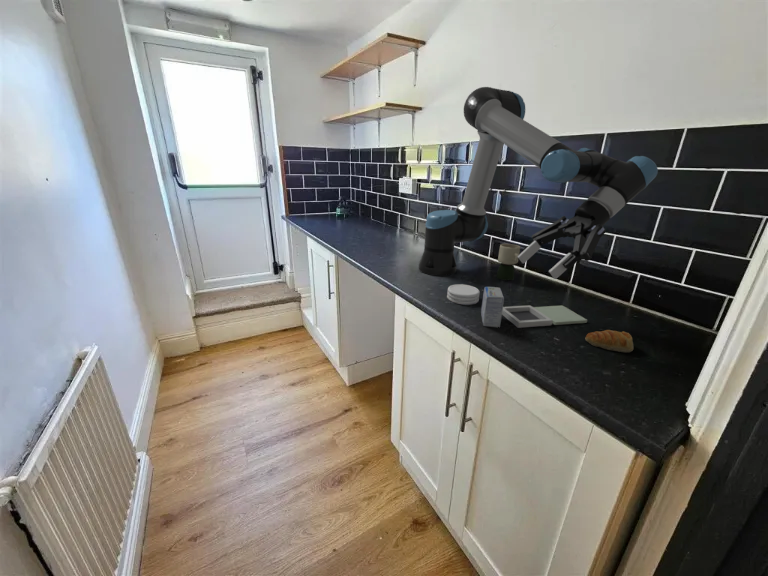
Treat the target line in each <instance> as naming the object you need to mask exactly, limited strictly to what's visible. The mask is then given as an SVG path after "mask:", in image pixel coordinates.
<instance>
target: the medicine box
mask: <svg viewBox="0 0 768 576" xmlns="http://www.w3.org/2000/svg"><path fill="white" fill-rule="evenodd" d="M482 294H483V295H482V302H481V310H480V314H481V320H482V326H484V327H490V328H498V327H499V328H500V327H501V322H502V316H503V315H502V310H503V307H504V302H505V296H504V295H503V292H502V288H501V287H497V286H496V287H495V286H484V289H483V293H482Z"/></svg>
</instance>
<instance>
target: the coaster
mask: <svg viewBox="0 0 768 576" xmlns="http://www.w3.org/2000/svg"><path fill="white" fill-rule="evenodd" d="M446 293H447V295H446V299H448V301H450V302H452V303H454V304H458V305H463V306H469V305H471V306H472V305H476V304H477V303H479V300H480V294H481V292H480V290H479V289H478V288H477V287H475V286H473V285H469V284H462V283H460V284H451V285H449V286H448V287H447V292H446Z"/></svg>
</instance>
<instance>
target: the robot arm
mask: <svg viewBox="0 0 768 576" xmlns="http://www.w3.org/2000/svg"><path fill="white" fill-rule="evenodd" d="M463 116H464V117H463V118H464V119H465V121H466V122H467V124H468V125H470V126H471V127H472V128H473V129H475V130H477V134H478V136H479V139H478V140H479V141H478V144H477V147H476V152H475V155H474V159H473V162H472V166H471V170H470V173H469V176H468V180H467V185H466V187H465V192H464V194H463V198H462V201H461V203H459V204H458V205H456V210H452V209H442V210H441V209H438V210H433V211H432V212H429V213H428V214H427V216H426V221H425V225H424V226H425V234H424V249H423V252H422V255H421V258H420V260H419V262H418V271H419V272H420V273H424V274H427V275H431V276H442V277H443V276H451V275H455V274H456V273H457V262H456V257H455V253H454V252H455V251H454V250H455V244H459V243H466V242H468V243H469V242H474V241H477V240H479V239H482V238H483V237H484V235H485V234H486V232H487V231H488V226H489V222H488V218H487V215H486V214H487V211H486V209H485V205H486V201H487V199H488V195H489V192H490V189H491V187H492V186H491V185H492V183H493V179H494V176H495V173H496V170H497V166H498V163H499V160H500V156H501V154H502V150H503V148H504V145H505V146H506V147H508V148H509V149H511V150H513V151H514V153H516V154H518V155H520V156H521V157H522V158H524V159H526V160H527V161H528V162H529V163H531V164H533V166H535V167H536V168H539V169H540V173H541V174H542V176H543V177H544V179H545V180H547V181H548V182H551V183H552V182H553V183H557V184H558V183H559V184H562V183H589V184H591V185H593V186H596V187H598V189H597V190H595V191H594V192H593V193H592V194H591V195H590V196H589V197H588V198H587V200H585V201H584V202H583V203H581V204H580V205H579V206H578V207H577V208H576V209H575V212H574V215H573V217H571V218H569V219H568V218H567V217H566V215H563V216H560V218H559V219H557V220H556V221H555V222H552V223H551V224H549V225H548V226H546V227H544V228H542V229H541V230H538V231H537V232H535V233H534V234H532V235H531V239H532V240H533V241H532V242H530V244H529V245H528V246H527V247H525V249H524V250H523V251H521V252H520V254H519V256H518V261H520V262H521V264H525V263H526V262H527V261H528V260H529V259H531V258H532V257H533V256H534V255H535V254H536V253H537V252H538V251H539V250H540V249H541V248H542V246H543V245H546V244H548V243H550V242H553V241H555V240H558V239H561V238H573V239H574V244H573V250H571V252H568V253H567V254H566V255H565V256H563V258H561V259H560V260H559V261H558V262H557V263H556V264H555V265H554V266H552V268H550V269H549V270H548V273H549V274H550V276H551V277H552V278H553V279H554V280H557V279H558V278H559V277H560V276H562V274H564V273H565V272H566V271H567V270H569V269H571V268H572V267H573V266H574V265H576V263H578V262H580V261H585V262H589V261H590V260H591V258H592V256H593V254H594V252H595V250H596V248H597V246H598V244H599V242H600V239H601V238H602V237H603V235H604V234H605V233H606V229H605V228H604V225H606V223H607V222H609V221H610V220H611V219H612V218H613V217H614V216H615V215H616V214H617V213H619V212H620V211H621V210H622V208H624V207H625V206H626V205H627V204H628V203H629V202H630V201H632V200H633V199H634V198H635V197H637V196H638V194H640V193H641V192H642V191H643V190H645V189H646V188H647V187H648V185H650V184H651V182H652V181H653V180H654V179H655V178H657V175H658V173H659V170H658V166H657V164H656V162H654V161H653V160H652V159H651V158H649V157H647V156H644V155H640V156H639V155H635V156H632V157H631V158H630V159H628V160H627V161H623V160H620V159H618V158H617V159H616V158H613V157H611V156H609V155H606V154H604V153H601V152H599V151H597V150H596V149H591V148H587V147H582V148H579V150H575V149H572V148H570V147H569V146H567V145H566V144H564V143H562V142H561V141H559V140H557V139H556V138H555V137H553V136H551V135H550V134H549V133H546V132H544V131H543V130H541V129H539V128H538V127H536V126H534V125H532V124H531V123H529V121H528V122H527V121H526V120H525V116H526V104H525V101H524V98H523V97H522V96H521V95H520V94H519V93H517V92H514V91H511V90H505V89H501V88H500V89H499V88H494V87H491V86H490V87H489V86H483V87H482V86H481V87H479V88H476V89H474V90H473V91H472V92H471V93H469V95H468V96H467V97H466V99H465V102H464V105H463Z"/></svg>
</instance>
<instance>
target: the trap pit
mask: <svg viewBox="0 0 768 576" xmlns="http://www.w3.org/2000/svg"><path fill="white" fill-rule="evenodd" d="M534 307H535V306H532V305H530V304H529V305H528V304H527V305H513V306H512V305H511V306H503V310H502V316H503V317H504V318H505V319H507V320H508V321H509V322H511V324H513V325H514V326H515V327H516V328H519V329H520V328H531V327H532V328H533V327H545V326H546V327H547V326H552V325H553V323H552V321H553V320H551V319H550V318H549V317H547V316H546V315H544V314H543V313H541V312H540V311H538V310H537V309H535V308H534Z"/></svg>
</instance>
